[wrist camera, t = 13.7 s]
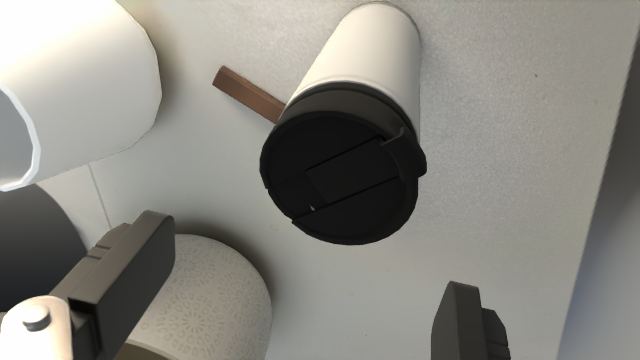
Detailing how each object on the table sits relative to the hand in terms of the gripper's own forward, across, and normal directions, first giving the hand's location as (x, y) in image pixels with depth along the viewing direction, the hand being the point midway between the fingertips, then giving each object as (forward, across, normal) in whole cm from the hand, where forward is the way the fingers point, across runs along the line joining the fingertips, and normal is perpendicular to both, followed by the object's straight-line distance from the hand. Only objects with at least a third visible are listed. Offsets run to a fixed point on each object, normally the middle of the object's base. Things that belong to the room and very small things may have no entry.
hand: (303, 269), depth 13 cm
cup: (+24, +22, +5) cm, 33 cm away
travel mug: (+25, 0, 0) cm, 25 cm away
